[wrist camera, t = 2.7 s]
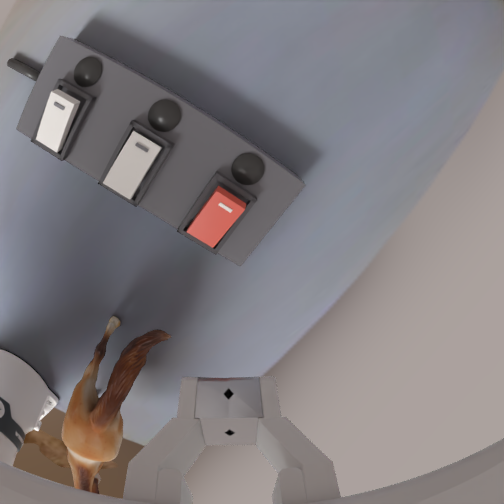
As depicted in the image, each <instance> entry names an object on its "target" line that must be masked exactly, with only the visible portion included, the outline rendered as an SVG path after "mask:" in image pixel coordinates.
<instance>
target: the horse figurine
mask: <svg viewBox="0 0 504 504" xmlns="http://www.w3.org/2000/svg"><path fill="white" fill-rule="evenodd" d="M119 326H120V320H119V319H118V318H116V317H115V316H112V317H111V318H110V320H109V323H108V325H107V327H106V331H105V334H104V336H103V339H102V340H101V342H100V343H99V344H98V345H97V346H96V349H95V352H94V358H93V360H92V361H91V362H90V364H89V365H88V367H87V368H86V370H85V372H84V375H83V378H82V380H81V381H80V382H79V383H78V384H77V385H76V387H75V389H74V391H73V394H72V397H71V400H70V402H69V405H68V409H67V412H66V415H65V419H64V423H63V428H62V439H63V442H64V443H65V445H66V446H67V457H68V462H69V464H70V466H71V469H72V473H73V479H74V485H75V488H76V489H80V490H84V491H88V492H92V493H96V494H99V491H98V483H99V482H100V480H101V478H100V476H99V474H98V472H99V470H100V469H101V467H102V465H103V463H104V462H106V461H110V460H113V459H114V458H115V457H116V456H117V454H118V452H119V449H120V445H121V442H122V438H123V419H122V416H121V414H120V407H121V404H122V402H123V401H124V400H125V398H126V396H127V395H128V393H129V391H130V389H131V387H132V385H133V383H134V381H135V379H136V377H137V376H138V374H139V372H140V370H141V368H142V367H143V366H144V365H145V362H146V354H147V353H148V352H149V350H150V349H151V348H152V347H153V346H154V345H156V344H158V343H159V342H161V341H164V340H168V339H169V338H171V336H170V335H169V334H167V333H165V332H164V331H162V330H152V331H150V332H148V333H146V334H144V335H142V336H140V337H137V338H135V339H134V340H133V341H131V342H130V343H129V344H128V346H127V347H126V348H125V349H124V350H123V351H122V353H121V356H120V359H119V360H118V361H117V363H116V364H115V366H114V369H113V372H112V374H111V377H110V379H109V382H108V386H107V390H106V391H105V392H104V393H103V394H102V396H101V397H100V398H98V394H97V391H96V388H95V384H96V381H97V375H98V370H99V364H100V362H101V360H102V359H103V357H104V356H105V352H106V344H107V342H108V339H109V337H110V335H111V334H112V333H113V332H114V330H115V329H116V328H117V327H119Z"/></svg>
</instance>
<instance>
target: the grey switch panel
mask: <svg viewBox="0 0 504 504" xmlns="http://www.w3.org/2000/svg"><path fill="white" fill-rule="evenodd" d="M7 65H8V66H9V67H10V68H12V69H14V70H16V71H18V72H20V73H21V74H23V75H25V76H27V77H29V78H31V79H32V80H34V81H36V83H35V85H34V87H33V89H32V92H31V94H30V96H29V98H28V101H27V103H26V105H25V108H24V110H23V113H22V115H21V118H20V120H19V123H18V126H17V128H16V129H17V130H18V131H20V132H21V133H23V134H24V135H26V136H28V137H29V138H31V142H33V143H35V144H36V145H38V146H39V147H41V148H42V149H44V150H45V151H47V152H49V153H50V154H52V155H53V156H55V157H57V158H58V159H60V160H61V161H63V160H65V161H67V162H69V163H70V164H72V165H73V166H75V167H77V168H78V169H80V170H81V171H83V172H85V173H86V174H88V175H89V176H91V177H93V178H94V179H96V180H98V181H99V182H98V184H100V185H101V186H103V187H105V188H106V189H108V190H109V191H111V192H113V193H114V194H116V195H118V196H119V197H121V198H122V199H124V200H126V201H127V202H129V203H131V204H132V205H134V206H136V207H137V205H138V206H140V207H142V208H143V209H145V210H146V211H148V212H150V213H151V214H153V215H155V216H156V217H158V218H160V219H161V220H163V221H165V222H166V223H168V224H170V225H171V226H173V227H175V228H176V229H178V230H177V232H179V233H180V234H182V235H184V236H185V237H187V238H189V239H190V240H192V241H194V242H195V243H197V244H199V245H201V246H202V247H204V248H206V249H207V250H209V251H211V252H212V253H214V254H217V253H218V254H220V255H222V256H223V257H225V258H227V259H229V260H230V261H232V262H234V263H235V264H237V265H239V266H241V265H242V264H243V263H244V261H245V260H246V259H247V258H248V256H249V255H250V254H251V253H252V251H253V250H254V249H255V248H256V246H257V245H258V244H259V243H260V241H261V240H262V239H263V238H264V236H265V235H266V234H267V233H268V231H269V230H270V229H271V228H272V226H273V225H274V224H275V223H276V221H277V220H278V219H279V218H280V216H281V215H282V214H283V213H284V211H285V210H286V209H287V208H288V206H289V205H290V204H291V203H292V201H293V200H294V199H295V198H296V196H297V195H298V194H299V193H300V191H301V190H302V189H303V188H304V186H305V184H304V182H303V181H302V180H301V179H300V177H299V176H297V175H296V174H295V173H293V172H292V171H291V170H289V169H288V168H286V167H285V166H284V165H282V164H281V163H280V162H278V161H277V160H275V159H274V158H273V157H271V156H270V155H268V154H267V153H266V152H264V151H263V150H261V149H260V148H258V147H257V146H256V145H254V144H253V143H251V142H250V141H248V140H247V139H245V138H244V137H242V136H241V135H239V134H238V133H237V132H235V131H234V130H232V129H231V128H229V127H228V126H226V125H224V124H223V123H221V122H220V121H218V120H217V119H215V118H214V117H212V116H211V115H209V114H207V113H206V112H204V111H203V110H201V109H200V108H198V107H196V106H195V105H193V104H192V103H190V102H188V101H187V100H185V99H183V98H182V97H180V96H178V95H177V94H175V93H173V92H172V91H170V90H168V89H167V88H165V87H163V86H162V85H160V84H158V83H156V82H155V81H153V80H151V79H149V78H148V77H146V76H144V75H142V74H141V73H139V72H137V71H135V70H133V69H131V68H130V67H128V66H126V65H124V64H122V63H120V62H118V61H117V60H115V59H113V58H111V57H109V56H107V55H105V54H103V53H101V52H99V51H97V50H95V49H93V48H91V47H89V46H87V45H85V44H83V43H81V42H79V41H77V40H75V39H71V38H67V37H63V36H60V37H59V39H58V41H57V42H56V44H55V46H54V48H53V50H52V51H51V53H50V55H49V57H48V59H47V61H46V63H45V64H44V66H43V68H42V70H41V72H38V71H36V70H35V69H33V68H31V67H29V66H27V65H25V64H23V63H21V62H19V61H17V60H15V59H13V58H11V59H9V60H8V62H7ZM56 89H59V90H61V91H63V92H64V93H66V94H68V95H70V96H71V97H73V98H75V99H77V100H78V101H80V104H79V106H78V109H77V111H76V114H75V116H74V119H73V122H72V125H71V127H70V129H69V132H68V135H67V138H66V141H65V143H64V146H63V149H61V150H60V151H59V152H55V151H53V150H52V149H50V148H49V147H47V146H45V145H44V144H42V143H41V142H39V141H38V140H36V137H37V133H38V130H39V127H40V123H41V120H42V117H43V114H44V111H45V108H46V105H47V102H48V99H49V96H50V94H51V91H54V90H56ZM133 131H135V132H137V133H139V134H141V135H142V136H144V137H145V138H147V139H149V140H150V141H152V142H154V143H155V144H157V145H159V146H160V147H162V149H161V151H160V153H159V154H158V156H157V157H156V159H155V160H154V162H153V164H152V165H151V167H150V168H149V170H148V172H147V173H146V175H145V177H144V178H143V180H142V182H141V183H140V185H139V187H138V188H137V190H136V192H135V194H134V195H133V197H132V198H131V199H130V200H129V199H128V198H126V197H125V196H123V195H121V194H120V193H118V192H116V191H115V190H113V189H112V188H110V187H108V186H107V185H105V184H103V182H104V180H105V178H106V176H107V174H108V173H109V171H110V169H111V167H112V166H113V164H114V162H115V160H116V159H117V157H118V155H119V154H120V152H121V150H122V149H123V147H124V145H125V144H126V142H127V140H128V139H129V137H130V136H131V134H132V132H133ZM218 186H220V187H221V188H223V189H225V190H226V191H228V192H229V193H231V194H232V195H234V196H235V197H237V198H238V199H240V200H241V201H243V202H245V203H246V208H245V210H244V212H243V213H242V214H241V215H240V216H239V217H238V219H237V220H236V221H235V222H234V223H233V225H232V226H231V227H230V228H229V229H228V231H227V232H226V233H225V234H224V235H223V237H222V238H221V239H220V240H219V241H218V243H217V244H216V245H215V246H214V247H213V248H212V247H211V246H209V245H207V244H205V243H204V242H202V241H200V240H199V239H197V238H195V237H194V236H192V235H190V234H189V233H187V229H188V227H189V225H190V224H191V222H192V221H193V219H194V218H195V217H196V215H197V214H198V213H199V211H200V210H201V208H202V207H203V206H204V204H205V203H206V202H207V200H208V199H209V198H210V196H211V195H212V193H213V192H214V191H215V189H216V188H217V187H218Z"/></svg>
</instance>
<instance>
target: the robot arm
mask: <svg viewBox="0 0 504 504" xmlns="http://www.w3.org/2000/svg"><path fill="white" fill-rule="evenodd" d="M58 401H59V399H58V398H57V397H56V396H55V395H54V394H53V393H52V392H51V391H50V390H49V389H48V387H47V386H46V384H45V382H44V381H43V379H42V378H41V377H40V376H39V375H38V374H37V373H36V372H35V371H34V370H33V369H32V368H31V367H30V366H29V365H28V364H26V363H25V362H24V361H22V360H21V359H20V358H18V357H16V356H15V355H13V354H11V353H9V352H7V351H4V350H1V349H0V504H193V496H192V494H191V492H190V490H189V488H188V486H187V483H186V481H185V479H184V475H185V474H186V473H187V471H188V470H189V469H190V467H191V466H192V465H193V463H194V462H195V461H196V459H197V458H198V456H199V455H200V454H201V452H202V451H203V449H204V448H205V445H256V446H257V448H258V449H259V450H260V451H261V452H262V454H263V455H264V456H265V458H266V459H267V460H268V462H269V463H270V464H271V465H272V467H273V468H274V469H275V470H276V471H277V473H278V478H277V481H276V485H275V488H274V491H273V494H272V498H273V504H504V438H503V439H502V440H500V441H498V442H496V443H494V444H492V445H490V446H489V447H487V448H485V449H483V450H481V451H479V452H476V453H475V454H472V455H470V456H468V457H466V458H464V459H462V460H459V461H457V462H455V463H452V464H450V465H447V466H445V467H443V468H440V469H438V470H435V471H432V472H430V473H427V474H424V475H421V476H418V477H416V478H413V479H410V480H407V481H404V482H401V483H397V484H394V485H390V486H387V487H383V488H379V489H376V490H372V491H368V492H364V493H360V494H355V495H351V496H346V497H341V496H340V492H339V487H338V483H337V478H336V474H335V470H334V466H333V462H332V461H331V460H330V459H329V458H328V457H327V456H326V455H325V454H324V453H322V451H320V450H319V449H318V448H317V447H316V446H315V445H314V444H313V443H312V442H311V441H310V440H309V439H308V438H307V437H306V436H305V435H304V434H303V433H302V432H301V431H300V430H299V429H298V428H297V427H296V426H295V425H293V423H291V421H290V420H288V418H287V417H281V411H280V404H279V397H278V391H277V384H276V379H275V377H274V376H273V377H272V376H271V377H237V378H201V377H183V378H182V380H181V387H180V395H179V403H178V412H177V418H172V419H171V420H170V421H169V422H168V423H167V424H166V425H165V426H164V427H163V428H162V429H161V430H160V431H159V432H158V433H157V434H156V436H155V437H154V438H153V439H152V440H151V441H150V442H149V443H148V444H147V445H146V446H145V447H144V448H143V449H142V450H141V451H140V452H139V453H138V454H137V455H136V456H135V457H134V458H133V459H132V460H131V461H130V462H129V465H128V471H127V477H126V483H125V490H124V496H123V499H119V498H114V497H109V496H105V495H100V494H96V493H92V492H88V491H84V490H80V489H76V488H73V487H69V486H66V485H62V484H59V483H56V482H53V481H50V480H47V479H44V478H41V477H38V476H36V475H33V474H30V473H28V472H25V471H22V470H20V469H18V468H15V467H13V462H14V459H15V456H16V453H17V452H18V451H20V449H21V447H22V445H23V441H24V439H25V434H26V433H28V432H29V431H32V430H33V429H35V430H36V431H38V430H39V429H40V426H41V422H40V420H41V419H42V418H43V417H44V416H45V415H46V414H47V413H48V412H49V411H50V410H51V409H52V408H53V407H55V406H56V405H57V403H58Z"/></svg>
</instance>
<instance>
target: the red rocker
mask: <svg viewBox="0 0 504 504" xmlns="http://www.w3.org/2000/svg"><path fill="white" fill-rule="evenodd" d="M245 208H246V203H245V202H243V201H241V200H240V199H238V198H237V197H235V196H234V195H232V194H231V193H229V192H228V191H226V190H225V189H223V188H221V187H220V186H218V187H217V188H216V189H215V191H214V192H213V193H212V195H211V196H210V198H209V199H208V200H207V202H206V203H205V204H204V206H203V207H202V208H201V210H200V211H199V213H198V214H197V215H196V217H195V218H194V219H193V221H192V222H191V224H190V225H189V227H188V229H187V233H189V234H190V235H192V236H194V237H195V238H197V239H199V240H200V241H202V242H204V243H205V244H207V245H209V246H211V247H212V248H213V247H214V246H215V245H216V244H217V243H218V241H219V240H220V239H221V238H222V237H223V235H224V234H225V233H226V232H227V231H228V229H229V228H230V227H231V226H232V225H233V223H234V222H235V221H236V220H237V219H238V217H239V216H240V215H241V214H242V213H243V212H244V210H245Z"/></svg>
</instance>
